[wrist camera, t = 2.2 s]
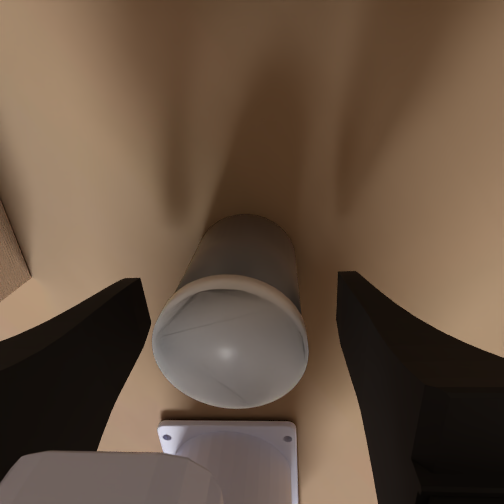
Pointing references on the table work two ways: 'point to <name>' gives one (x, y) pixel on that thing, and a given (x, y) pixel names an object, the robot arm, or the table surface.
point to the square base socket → (10, 259)
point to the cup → (235, 318)
